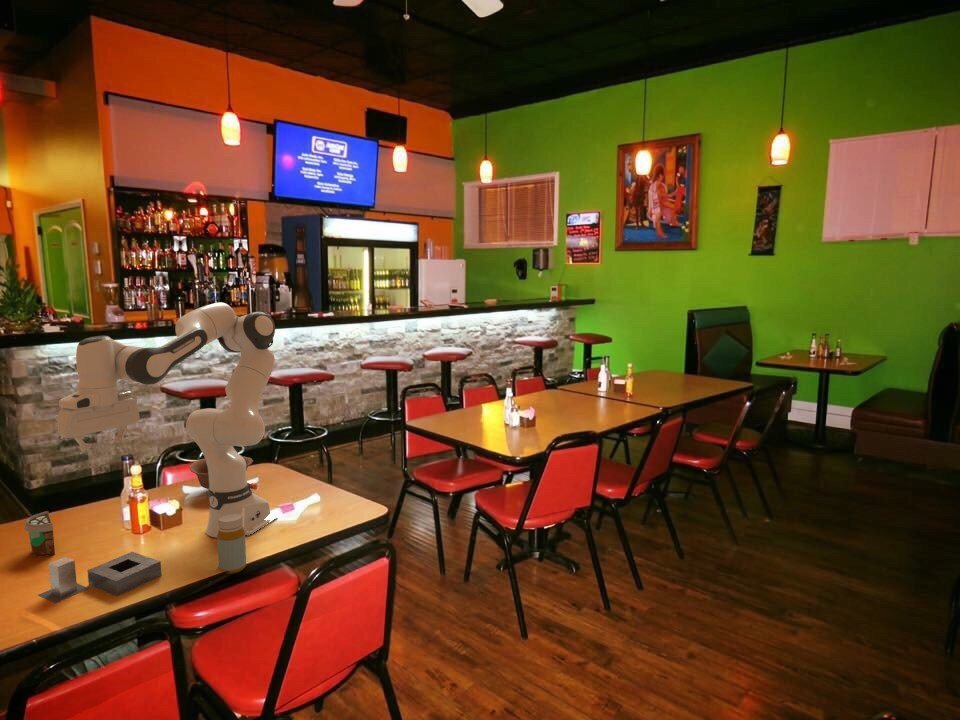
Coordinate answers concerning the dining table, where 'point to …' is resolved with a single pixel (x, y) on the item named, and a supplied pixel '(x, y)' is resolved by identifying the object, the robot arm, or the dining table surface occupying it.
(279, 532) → the dining table surface
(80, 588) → the rubber pad
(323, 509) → the dining table surface
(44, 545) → the food container
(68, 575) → the steel plug
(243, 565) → the bottle
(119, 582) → the socket block
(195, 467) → the bowl
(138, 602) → the dining table surface
